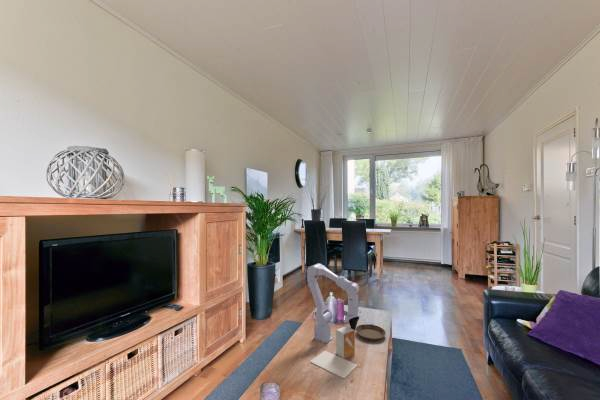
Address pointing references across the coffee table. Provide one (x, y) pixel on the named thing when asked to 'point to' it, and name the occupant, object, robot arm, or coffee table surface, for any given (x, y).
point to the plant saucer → (370, 332)
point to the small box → (345, 342)
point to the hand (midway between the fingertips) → (353, 329)
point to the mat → (334, 364)
